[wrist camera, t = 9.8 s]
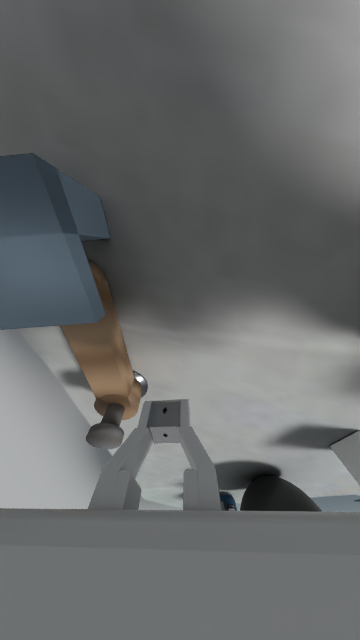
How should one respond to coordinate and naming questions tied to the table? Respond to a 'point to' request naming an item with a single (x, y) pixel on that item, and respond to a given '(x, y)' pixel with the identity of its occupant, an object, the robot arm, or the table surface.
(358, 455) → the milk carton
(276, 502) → the bowl of black rocks
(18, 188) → the keeper
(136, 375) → the pin washer
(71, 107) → the table surface
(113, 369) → the link
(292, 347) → the table surface
